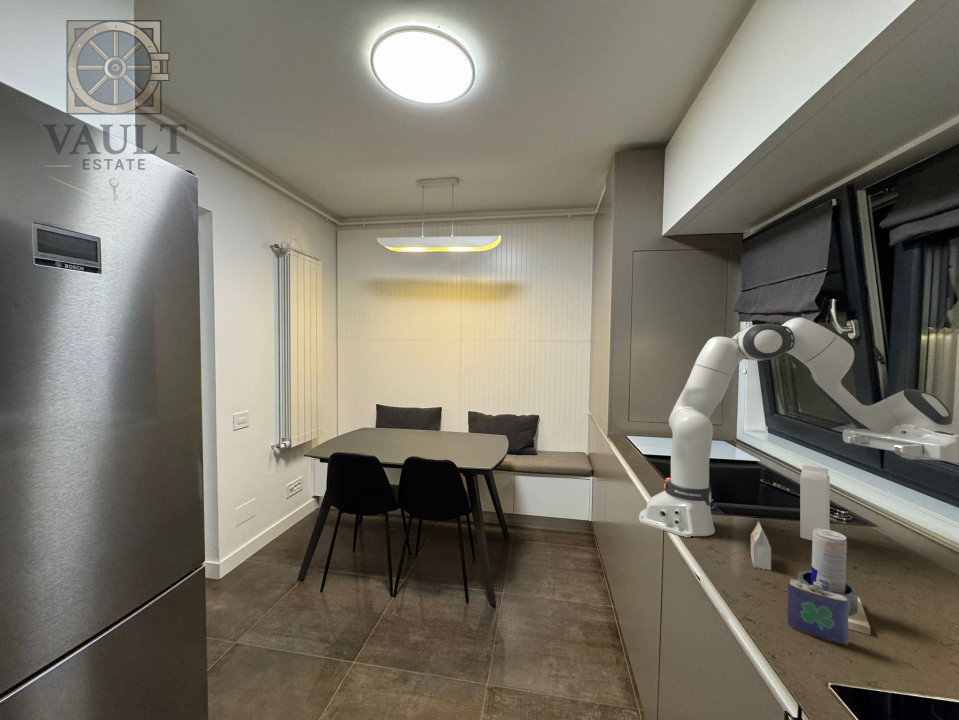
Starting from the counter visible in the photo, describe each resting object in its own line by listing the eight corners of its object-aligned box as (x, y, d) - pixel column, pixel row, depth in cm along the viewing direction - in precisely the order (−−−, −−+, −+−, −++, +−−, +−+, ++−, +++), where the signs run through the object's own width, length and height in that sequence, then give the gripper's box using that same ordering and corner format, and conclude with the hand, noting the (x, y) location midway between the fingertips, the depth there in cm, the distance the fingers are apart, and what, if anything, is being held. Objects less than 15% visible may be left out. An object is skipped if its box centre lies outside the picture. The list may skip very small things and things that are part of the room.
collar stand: (792, 611, 83) (792, 586, 83) (790, 584, 93) (790, 562, 93) (870, 635, 76) (870, 608, 76) (859, 603, 85) (859, 579, 85)
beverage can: (851, 605, 83) (853, 537, 83) (833, 610, 81) (836, 540, 81) (821, 590, 88) (823, 526, 88) (804, 594, 86) (806, 529, 86)
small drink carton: (767, 558, 105) (766, 522, 105) (770, 570, 99) (770, 532, 99) (750, 555, 107) (750, 520, 107) (753, 566, 101) (753, 529, 101)
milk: (826, 545, 112) (826, 471, 112) (799, 537, 117) (800, 466, 116) (829, 538, 116) (830, 467, 116) (804, 531, 121) (804, 462, 120)
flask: (847, 640, 75) (847, 587, 74) (849, 650, 72) (849, 594, 72) (787, 621, 80) (787, 570, 80) (787, 628, 78) (787, 577, 78)
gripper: (863, 422, 107) (826, 424, 104) (971, 437, 87) (930, 440, 84) (863, 444, 107) (826, 447, 104) (971, 464, 87) (930, 469, 84)
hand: (873, 444), depth 94 cm, fingers open, 8 cm apart
